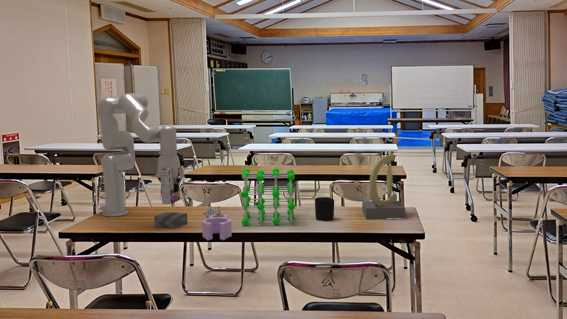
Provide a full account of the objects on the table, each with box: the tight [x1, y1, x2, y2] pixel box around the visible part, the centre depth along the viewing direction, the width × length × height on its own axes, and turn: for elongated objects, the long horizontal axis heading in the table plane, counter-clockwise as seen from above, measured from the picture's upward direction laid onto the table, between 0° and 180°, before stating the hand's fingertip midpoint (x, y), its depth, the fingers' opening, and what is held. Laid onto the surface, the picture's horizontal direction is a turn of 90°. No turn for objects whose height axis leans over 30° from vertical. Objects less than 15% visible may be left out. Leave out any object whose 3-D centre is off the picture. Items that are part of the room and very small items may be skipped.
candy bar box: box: [160, 168, 181, 205], centre depth 285 cm, size 11×5×16 cm, turn 168°
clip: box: [201, 214, 233, 241], centre depth 267 cm, size 20×12×7 cm, turn 1°
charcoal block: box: [154, 211, 188, 230], centre depth 287 cm, size 11×11×5 cm
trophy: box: [361, 153, 406, 220], centre depth 301 cm, size 19×19×30 cm
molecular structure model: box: [240, 167, 296, 227], centre depth 293 cm, size 24×25×24 cm
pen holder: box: [314, 196, 335, 222], centre depth 295 cm, size 9×9×10 cm
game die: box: [202, 205, 223, 219], centre depth 290 cm, size 9×8×10 cm
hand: (170, 191), depth 285 cm, fingers closed on candy bar box, 5 cm apart
